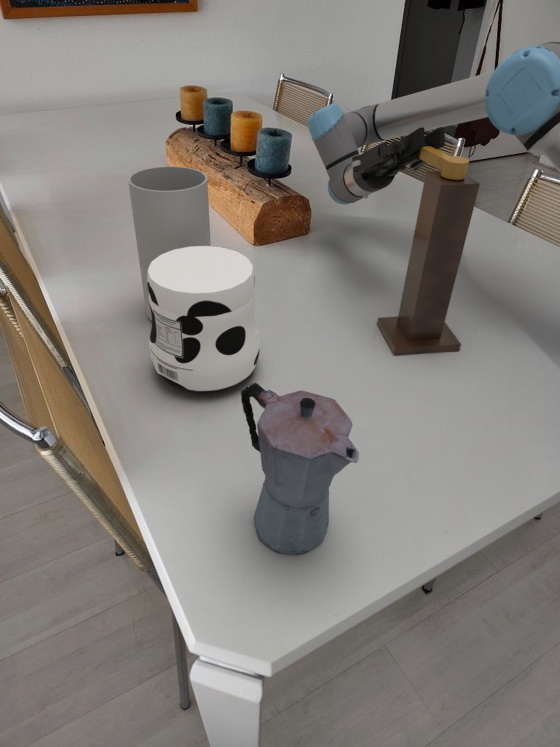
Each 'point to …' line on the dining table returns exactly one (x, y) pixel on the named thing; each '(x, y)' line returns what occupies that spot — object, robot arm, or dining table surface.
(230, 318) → the milk container
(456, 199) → the stand
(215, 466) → the dining table surface
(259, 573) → the dining table surface
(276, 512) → the moka pot
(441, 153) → the lever
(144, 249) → the cylinder vase
